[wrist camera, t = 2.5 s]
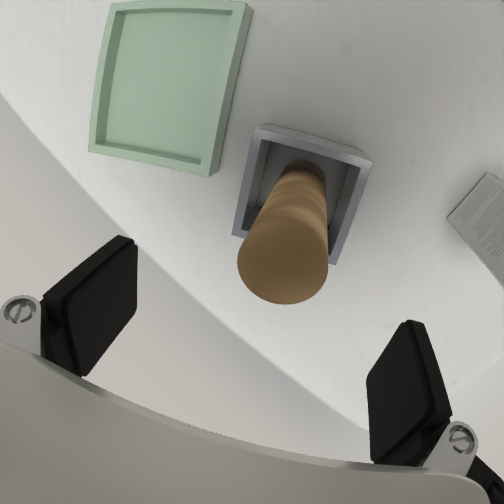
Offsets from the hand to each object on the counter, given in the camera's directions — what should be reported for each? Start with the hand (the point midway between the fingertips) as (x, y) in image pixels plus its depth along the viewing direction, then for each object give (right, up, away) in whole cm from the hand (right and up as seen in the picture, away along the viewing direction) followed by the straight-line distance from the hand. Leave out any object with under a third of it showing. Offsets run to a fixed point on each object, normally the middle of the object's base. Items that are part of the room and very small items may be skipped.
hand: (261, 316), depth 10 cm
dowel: (+4, +8, +14) cm, 17 cm away
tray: (-7, +17, +13) cm, 22 cm away
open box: (+4, +8, +14) cm, 17 cm away
